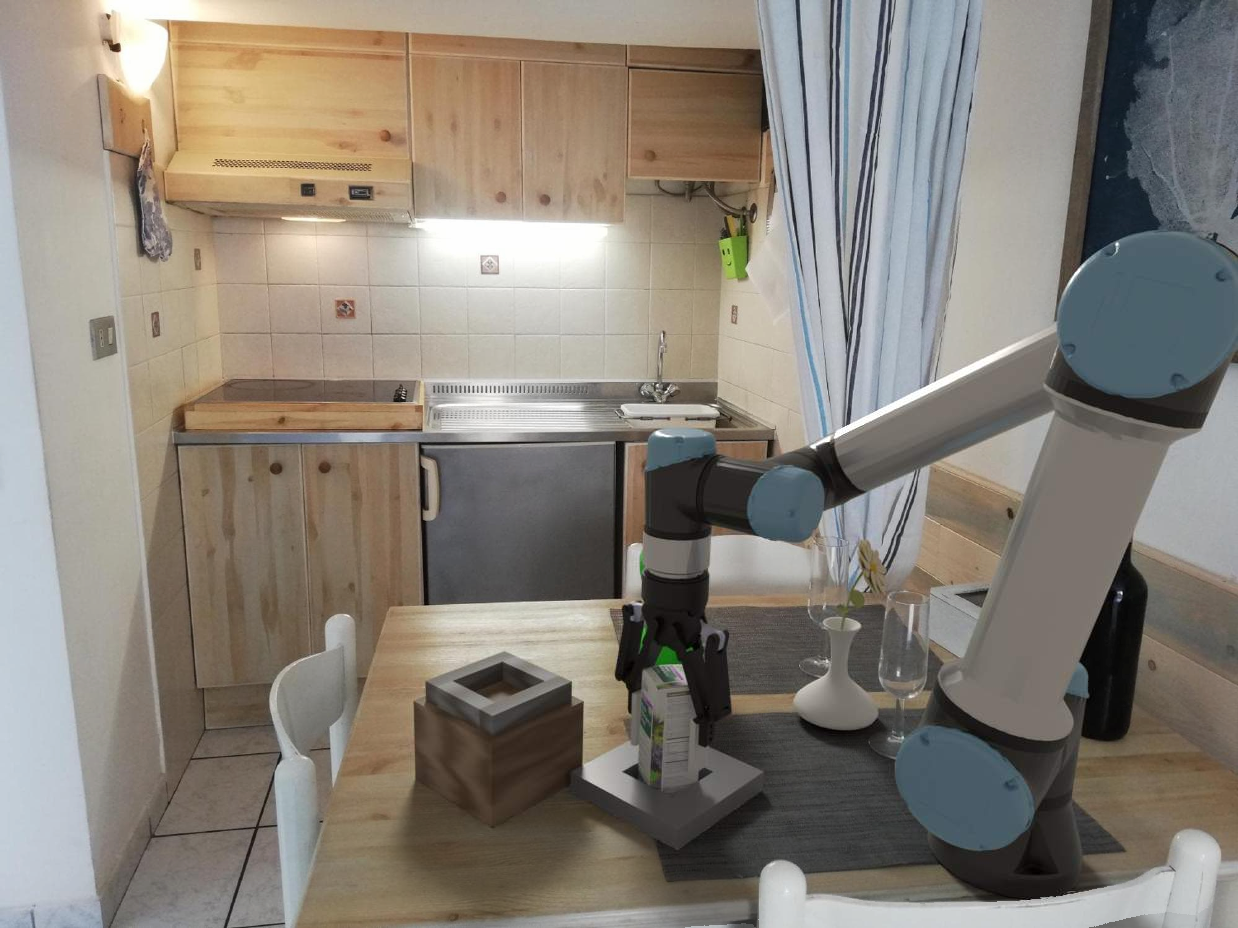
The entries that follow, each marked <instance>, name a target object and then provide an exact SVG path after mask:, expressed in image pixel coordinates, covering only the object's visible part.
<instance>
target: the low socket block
mask: <svg viewBox="0 0 1238 928" xmlns="http://www.w3.org/2000/svg"><path fill="white" fill-rule="evenodd" d="M638 756H639V745H637V746H633V745H631V739H630V740H627V741H626V742H624V743H622V744H620V745H618V746H617V747H614V748H613V749H611V750H609V751H607V752H605V753H603V754H601V755H599V756H598V757H595V758H594V759H593V760H590V761H588V762H587V763H585V764H583V766H581V767H579V768H577V769H575V770H573V771H571V781H570V785H569V786H570V789H569V790H570V793H572V794H575V795H577V796H578V797H580V798H582V799H583V800H585V801H587V802H588V803H591V804H592V805H594V806H595V807H598V808H600V809H602V810H604V812H607V813H609V814H611V815H612V816H614V817H616V818H618V819H619V820H621V821H623V822H625V823H626V824H628V825H630V826H632V827H633V828H635V827H636V828H635V829H638V830H639V831H641V832H642V833H644V834H646V835H648V836H650V837H652V838H653V839H655V840H657V839H658V840H660V841H662V842H664V843H665V844H664V843H663V844H664V845H666V844H667V845H670V846H671V847H673V848H674V849H673V848H672V849H673V850H675V849H679V848H680V847H682V846H683V845H684V844H686V843H687V842H689V840H692V839H693V838H694V837H696V836H697V835H698V834H699V833H701V832H703V831H704V830H705V829H707V828H708V827H710V826H712V824H715V823H716V822H717V821H719V820H720V819H722V818H723V817H725V816H726V815H727V814H729V813H730V812H731V811H733V810H734V809H735V808H737V807H738V806H739V805H741V804H743V803H744V802H745V801H747V800H749V799H750V798H752V797H753V798H754V796H755V795H756V796H757V795H758V794H757V793H759V792H760V793H762V792H763V791H762V790H764V773H765V771H763V770H761V769H759V768H756V767H755V766H752V765H750V764H748V763H746V762H743V761H741V760H738V759H737V758H735V757H732V756H730V755H728V754H726V753H723V752H722V751H719V750H717V749H715V748H713V747H710V746H709V751H708V765H707V766H706V767H704V768H703V769H701V770H699V773H698V782H696V783H695V784H693V785H692V786H690V787H689V788H687V789H685V790H684V791H682V792H681V793H679V794H678V795H676V796H674V797H673V798H672V797H670V796H668V795H666V794H664V793H662V792H660V791H658V790H656V789H654V788H652V787H650V786H648V785H646V784H645V783H643V782H641V781H639V780H638ZM761 791H762V792H761ZM760 793H759V794H760ZM756 796H755V797H756ZM753 798H752V799H753ZM750 800H751V799H750ZM750 800H749V801H750ZM747 802H748V801H747ZM743 805H744V804H743ZM737 809H738V808H737ZM733 812H734V811H733ZM730 814H731V813H730ZM730 814H729V815H730ZM727 816H728V815H727ZM727 816H726V817H727ZM726 817H725V818H726ZM723 819H724V818H723ZM723 819H722V820H723ZM720 821H721V820H720ZM720 821H719V822H720ZM716 824H717V823H716ZM716 824H715V825H716ZM712 827H713V826H712ZM710 828H711V827H710ZM703 833H704V832H703ZM696 838H697V837H696ZM658 840H657V841H658ZM693 840H694V839H693ZM693 840H692V841H693ZM660 841H659V842H660ZM662 842H661V843H662ZM689 843H690V842H689ZM667 845H666V846H667ZM686 845H687V844H686ZM671 847H670V848H671ZM683 847H684V846H683ZM683 847H682V848H683ZM679 850H680V849H679Z"/></svg>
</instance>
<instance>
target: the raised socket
mask: <svg viewBox="0 0 1238 928" xmlns="http://www.w3.org/2000/svg"><path fill="white" fill-rule="evenodd" d="M424 683H425V684H424V685H425V695H424V696H422V697H419V698H417V699H414V700H413V730H414V731H413V732H414V733H413V734H414V736H413V737H414V738H413V740H414V771H415V772H414V775H415V778H414V779H416V780H417V781H419V782H421V783H422V784H423V785H425V786H427V787H428V788H430V789H431V790H433V791H434V792H436V793H438V794H439V795H440V796H442V797H444V799H447V800H448V801H449V802H452V803H453V804H455V806H458V807H459V808H461V809H462V810H464V811H466V812H467V813H468V814H470V815H471V816H473V817H475V818H476V819H477V820H479V821H481V822H482V823H484V824H486V825H487V826H489V827H490V828H494V827H496V826H498V825H499V824H501V823H503V822H505V821H506V820H508V819H510V818H512V817H514V816H516V815H517V814H518V815H519V814H520V813H522V812H523V811H525V810H527V809H528V808H530V807H533V806H534V805H536V804H537V803H539V802H541V801H544V800H545V799H547V798H549V797H550V796H553V795H554V794H556V793H558V792H560V791H561V790H564V789H565V788H567V787H569V786H570V781H571V771H573V770H575V769H577V768H579V767H581V766H583V765H584V764H583V761H584V760H583V758H584V755H583V754H584V752H583V750H584V707H585V706H584V705H585V703H584V702H585V701H584V700H582V699H580V698H578V697H575V696H573V693H572V692H573V681H572V680H570V679H568V678H565V677H564V676H561V675H558V674H557V673H555V672H553V671H550V670H548V669H545V668H543V667H541V666H538V665H537V664H534V663H532V662H530V661H528V660H526V659H523V658H521V657H518V656H516V655H514V654H512V653H510V652H507V651H506V650H503V651H501V652H498V653H495V654H494V655H490V656H488V657H485V658H482V659H479V660H478V661H477V660H476V661H475V662H472V663H469V664H466V665H463V666H461V667H458V668H456V669H454V670H450V671H448V672H446V673H443V674H439V675H438V676H434V677H431V678H429V679H427V680H425V682H424Z"/></svg>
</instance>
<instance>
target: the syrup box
mask: <svg viewBox="0 0 1238 928" xmlns="http://www.w3.org/2000/svg"><path fill="white" fill-rule="evenodd" d="M694 716H696V713H695V709H694V705H693V702H692V698H691V695H690V691H689V688H688V684H687V681H686V677H685V674H684V670H683V666H682V665H680V664H679V665H677V664H673V665H660V666H654V667H649V668H645V669H643V671H642V692H641V711H640V732H639V756H638V780H639V781H641V782H643V783H645V784H646V785H648V786H650V787H652V788H654V789H656V790H658V791H660V792H662V793H664V794H666V795H668V796H670V797H672V798H673V797H674V796H676V795H678V794H679V793H681V792H682V791H684V790H685V789H687V788H689V787H690V786H692V785H693V784H695V783H696V782H698V773H699V771H698V772H696V773H694V774H691V773H689V772H688V758H689V736H690V719H691V718H692V717H694Z"/></svg>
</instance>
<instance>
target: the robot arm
mask: <svg viewBox="0 0 1238 928" xmlns="http://www.w3.org/2000/svg"><path fill="white" fill-rule="evenodd" d="M1056 313H1057V315H1056V316H1057V317H1056V320H1055V321H1054V322H1052V323H1049V324H1048V325H1046V326H1044V327H1042V328H1040V329H1038V330H1036V331H1034V332H1031V333H1030V334H1028V335H1026V336H1023V338H1020V339H1018V340H1016V341H1014V342H1012V343H1010V344H1008V345H1006V346H1004V347H1002V348H1000V349H998V350H996V351H994V352H992V353H990V354H988V355H985V356H984V357H982V358H980V359H978V360H976V361H974V362H971V363H970V364H967V365H966V366H964V367H963V368H960V369H958V370H956V371H954V372H952V373H951V374H948V375H945V376H944V377H942V378H939V379H938V380H936V381H934V382H932V383H930V384H929V385H926V386H923V388H920V389H918V390H916V391H914V392H912V393H910V394H908V395H906V396H904V397H902V398H900V399H898V400H895V401H894V402H893V403H890V404H888V405H886V406H884V407H882V408H880V409H878V410H876V411H874V412H872V413H870V414H869V415H866V416H864V417H862V418H861V419H858V420H856V421H854V422H853V423H850V424H848V425H846V426H845V427H842V428H840V429H838V430H836V431H835V432H832V433H831V432H830V433H829V434H827V435H825V436H824V437H821V438H820V439H817V440H815V441H813V442H811V443H810V444H807V445H805V446H803V447H800V448H797V449H794V450H792V451H788V452H783V453H780V454H778V455H774V456H771V457H767V458H765V459H762V460H761V459H760V460H752V459H744V458H738V457H732V456H727V455H724V454H720V453H718V447H717V439H716V436H715V434H713V433H712V432H710V431H706V430H705V429H700V428H693V427H692V428H690V427H668V428H667V427H666V428H662V429H658V430H655V431H653V432H652V433H651V434H650V435H649V436H648V438H647V444H646V456H645V457H646V459H645V465H644V466H645V467H644V468H643V473H644V521H643V533H642V549H643V551H642V550H641V551H642V563H643V565H644V566H645V568H644V569H643V570H642V580H641V586H640V587H641V593H640V597H641V599H635V600H633V601H630V602H627V603H625V604H623V605H622V606H621V613H622V615H621V616H622V624H623V625H622V630H621V635H620V641H619V645H618V646H619V647H618V654H617V659H616V663H615V664H616V665H615V671H614V678H615V680H616V681H617V682H622V683H624V684H625V688H626V689H627V692H628V693H627V712H628V714H630V715H631V718H630V723H631V724H630V740H631V745H633V746H637V745H639V732H640V711H641V692H642V671H643V669H645V668H649V667H654V665H655V663H656V661H657V659H658V657H659V654H660V652H661V650H662V648H663V647H668V648H670V649H671V650H672V651H675V653H676V657H677V660H678V661H679V662H681V663H682V666H683V670H684V674H685V677H686V681H687V684H688V688H689V691H690V695H691V698H692V702H693V705H694V709H695V713H696V716H694V717H692V718H691V719H690V736H689V758H688V772H689V773H691V774H694V773H696V772H698V771H699V770H701V769H703V768H704V767H706V766H707V765H708V751H709V747H710V745H712V744H714V741H715V733H716V732H715V731H716V723H717V722H719V721H721V720H723V719H724V718H726V717H728V716H729V715H731V714H732V711H733V709H732V699H731V686H730V676H729V667H728V655H727V648H728V643H729V641H730V640H729V639H730V633H729V631H728V629H726V628H721V629H720V630H719V629H717V628H715V627H713V626H712V625H709V623H708V619H707V616H706V607H707V605H708V602H709V595H710V592H709V591H710V572H709V570H708V571H707V568H708V569H709V567H710V565H711V545H712V532H713V531H712V530H713V526H714V527H719V528H723V529H725V530H731V531H734V532H737V533H738V532H740V533H743V534H747V535H751V536H755V537H756V536H757V537H760V538H762V539H765V540H769V541H771V542H777V541H778V542H779V541H780V542H785V543H793V544H797V543H803V542H805V541H807V540H809V539H811V537H812V536H813V533H814V531H815V530H817V529H818V526H819V525H820V523H821V520H822V517H823V513H824V512H825V511H827V510H828V511H829V510H832V509H835V508H836V507H839V506H841V505H844V504H847V503H848V502H849V501H851V500H853V499H855V498H857V497H858V498H859V497H860V496H862V495H864V494H866V493H868V492H870V491H873V490H874V489H877V488H880V487H882V486H885V485H886V484H890V483H892V482H894V481H895V480H898V479H900V478H903V477H905V476H908V475H909V474H912V473H915V472H917V471H919V470H920V469H923V468H926V467H928V466H931V465H932V464H935V463H938V462H940V461H941V460H944V459H946V458H949V457H951V456H953V455H955V454H958V453H960V452H963V451H965V450H967V449H969V448H971V447H974V446H976V445H978V444H981V443H983V442H985V441H988V440H989V439H992V438H994V437H997V436H999V435H1001V434H1004V433H1006V432H1008V431H1010V430H1013V429H1015V428H1017V427H1020V426H1023V425H1025V424H1027V423H1030V422H1031V421H1033V420H1036V419H1038V418H1040V417H1044V416H1045V415H1048V414H1049V413H1052V412H1054V414H1053V415H1052V419H1051V421H1050V424H1049V427H1048V429H1047V433H1046V435H1045V438H1044V440H1043V443H1042V445H1041V448H1040V451H1039V454H1038V456H1037V458H1036V459H1037V460H1036V462H1035V464H1034V467H1033V470H1032V473H1031V476H1030V477H1029V481H1028V483H1027V486H1026V488H1025V490H1024V494H1023V496H1022V500H1021V502H1020V505H1019V507H1018V510H1017V512H1016V515H1015V518H1014V522H1013V524H1012V527H1011V529H1010V532H1009V534H1008V538H1007V540H1006V542H1005V545H1004V548H1003V549H1002V553H1001V556H1000V559H999V562H998V564H997V566H996V570H995V571H994V574H993V577H992V581H991V583H990V585H989V588H988V591H987V594H986V597H985V599H984V601H983V603H982V607H981V609H980V613H978V614H979V615H978V617H977V621H976V623H975V624H974V625H975V626H974V627H973V631H972V634H971V636H970V639H969V642H968V644H967V647H966V650H965V651H964V655H963V657H959V658H956V659H953V660H950V661H947V662H945V663H944V664H943V665H941V667H940V669H939V671H938V673H937V675H936V679H935V682H934V683H933V687H932V688H931V693H930V695H929V698H928V700H927V704H926V706H925V709H924V712H923V715H922V716H921V719H920V721H919V723H918V725H917V727H916V729H914V730H912V731H911V732H909V734H906V737H905V738H904V739H903V740H902V742H901V745H900V747H899V749H898V751H897V755H896V758H895V762H894V776H895V783H896V786H897V790H898V792H899V794H900V796H901V797H902V799H903V800H904V802H905V803H906V805H907V808H908V809H907V810H909V812H910V813H911V814H912V816H913V817H914V818H915V819H916V820H917V821H918V822H919V823H920V824H921V825H922V827H924V828H925V829H926V830H927V838H926V839H927V843H928V844H927V845H928V846H929V849H930V850H931V852H932V854H933V856H934V857H935V858H936V859H937V861H939V863H940V864H942V866H944V867H945V869H947V870H949V872H951V873H953V874H954V875H955V876H956V877H958V878H960V879H962V880H963V881H966V882H967V883H968V884H972V885H973V886H976V887H977V888H980V889H983V890H985V891H988V892H991V893H994V894H996V895H997V894H998V895H1001V896H1006V897H1010V898H1015V899H1023V900H1024V899H1025V900H1037V899H1036V898H1040V897H1050V896H1057V897H1059V896H1058V895H1060V896H1063V895H1065V894H1067V893H1069V892H1071V891H1072V890H1073V889H1074V888H1075V887H1076V886H1077V884H1078V883H1079V881H1080V878H1081V873H1082V866H1083V859H1084V858H1083V856H1084V855H1083V849H1082V844H1081V839H1080V835H1079V831H1078V827H1077V826H1078V825H1077V821H1076V818H1075V817H1076V816H1075V813H1074V808H1073V803H1072V798H1073V792H1074V791H1073V790H1074V786H1075V777H1076V771H1077V764H1078V756H1079V751H1080V744H1081V738H1082V730H1083V723H1084V716H1085V707H1086V703H1087V699H1089V697H1090V694H1089V692H1088V691H1089V690H1088V689H1089V688H1088V687H1089V682H1088V681H1089V674H1088V671H1087V669H1086V668H1085V666H1084V665H1083V664H1082V663H1081V662H1080V660H1081V658H1082V655H1083V652H1084V650H1085V648H1086V645H1087V644H1088V643H1087V642H1088V640H1089V638H1090V636H1091V633H1092V631H1093V628H1094V626H1095V624H1096V622H1097V619H1098V617H1099V615H1100V612H1101V610H1102V607H1103V605H1104V603H1105V600H1106V598H1107V595H1108V594H1109V593H1108V592H1109V591H1110V588H1111V586H1112V583H1113V582H1114V578H1115V577H1116V574H1117V571H1118V570H1119V568H1120V565H1121V562H1122V560H1123V558H1124V555H1125V553H1126V551H1127V548H1128V547H1129V543H1130V541H1131V538H1132V536H1133V534H1134V532H1135V530H1136V527H1137V524H1138V521H1139V520H1140V517H1141V515H1142V513H1143V510H1144V508H1145V505H1146V503H1147V500H1148V498H1149V496H1150V494H1151V492H1152V490H1153V487H1154V484H1155V482H1156V480H1157V477H1158V475H1159V472H1160V470H1161V468H1162V466H1163V463H1164V460H1165V458H1166V456H1167V454H1168V451H1169V449H1170V446H1172V445H1173V444H1175V443H1176V442H1177V441H1180V440H1182V439H1185V438H1188V437H1189V436H1193V435H1194V434H1197V433H1199V432H1201V430H1202V428H1203V426H1204V425H1205V422H1206V419H1207V417H1208V415H1209V413H1210V410H1211V408H1212V406H1213V403H1214V401H1215V399H1216V397H1217V394H1218V392H1219V390H1220V388H1221V386H1222V382H1223V380H1225V379H1224V378H1225V377H1226V375H1227V371H1228V369H1229V367H1230V364H1231V362H1232V360H1233V357H1234V356H1235V354H1236V353H1237V352H1238V253H1236V251H1234V250H1233V249H1231V248H1229V247H1228V246H1226V244H1224V243H1221V242H1219V241H1216V240H1214V239H1209V238H1207V237H1204V236H1202V235H1201V236H1200V235H1196V234H1194V233H1193V234H1192V233H1191V232H1189V231H1186V230H1185V231H1177V230H1167V229H1157V230H1154V229H1153V230H1148V231H1143V232H1139V233H1133V234H1129V235H1127V236H1125V237H1122V238H1120V239H1118V240H1116V241H1113V242H1112V243H1110V244H1108V245H1106V246H1104V247H1103V248H1101V249H1100V250H1097V252H1095V253H1094V254H1092V255H1091V256H1090V257H1088V258H1087V259H1086V260H1085V261H1084V262H1083V263H1082V264H1081V265H1080V266H1079V267H1078V268H1077V270H1076V271H1075V272H1074V273H1073V275H1072V276H1071V277H1070V279H1069V281H1068V282H1067V285H1066V286H1065V288H1064V290H1063V292H1062V294H1061V297H1060V300H1059V304H1058V307H1057V312H1056ZM646 624H647V626H648V629H647V632H646V634H645V636H644V638H643V641H642V644H643V646H642V648H641V650H640V645H641V639H642V633H643V629H644V627H645V625H646ZM702 638H703V640H702ZM691 647H692V649H691V650H689V651H686V650H687V649H689V648H691ZM639 650H640V653H639ZM1062 894H1063V895H1062Z"/></svg>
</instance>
